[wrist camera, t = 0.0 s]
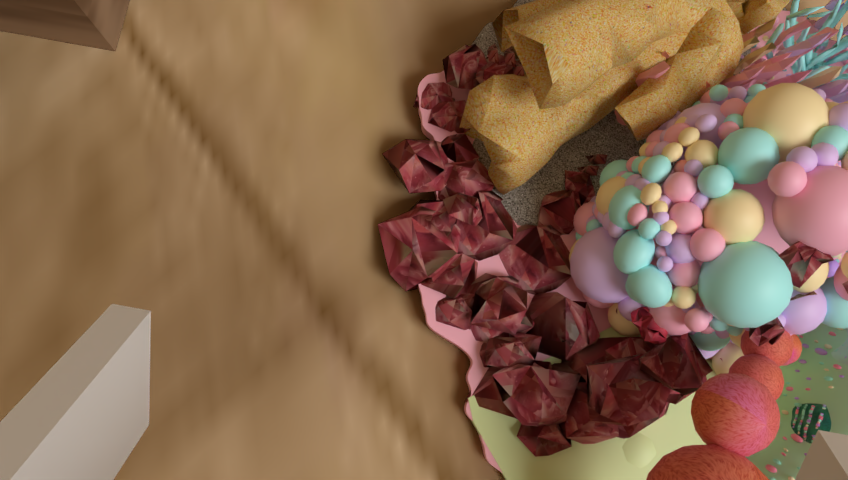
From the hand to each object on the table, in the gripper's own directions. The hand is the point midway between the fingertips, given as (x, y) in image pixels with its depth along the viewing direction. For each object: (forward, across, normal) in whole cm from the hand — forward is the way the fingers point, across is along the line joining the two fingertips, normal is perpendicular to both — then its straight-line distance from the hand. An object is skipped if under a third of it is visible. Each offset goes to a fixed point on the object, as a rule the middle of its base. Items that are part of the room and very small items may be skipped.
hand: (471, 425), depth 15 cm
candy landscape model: (+18, -9, +2) cm, 20 cm away
